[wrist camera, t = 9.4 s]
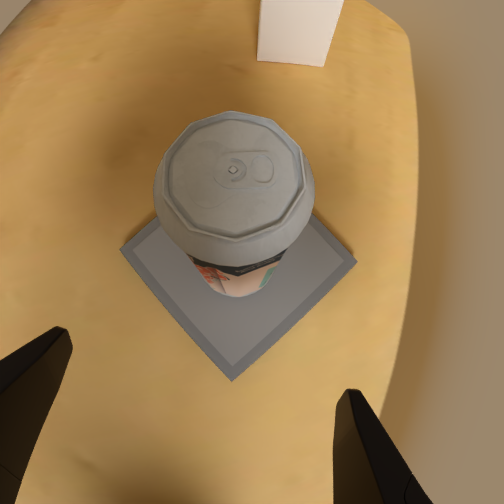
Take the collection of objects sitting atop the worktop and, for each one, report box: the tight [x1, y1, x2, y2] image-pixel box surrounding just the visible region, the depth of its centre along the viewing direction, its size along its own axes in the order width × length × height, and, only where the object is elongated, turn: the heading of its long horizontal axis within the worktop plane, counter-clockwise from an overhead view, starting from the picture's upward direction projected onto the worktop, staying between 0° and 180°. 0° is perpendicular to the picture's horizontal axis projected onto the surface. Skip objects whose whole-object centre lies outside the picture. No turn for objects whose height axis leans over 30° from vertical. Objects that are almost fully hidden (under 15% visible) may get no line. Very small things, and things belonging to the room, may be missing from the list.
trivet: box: [119, 213, 358, 382], centre depth 21 cm, size 11×11×1 cm
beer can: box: [153, 110, 315, 297], centre depth 14 cm, size 5×5×12 cm
